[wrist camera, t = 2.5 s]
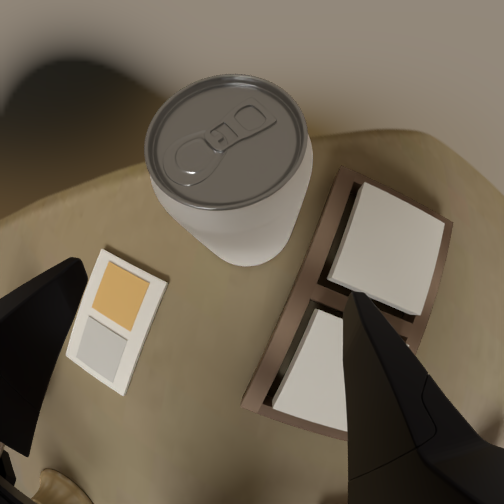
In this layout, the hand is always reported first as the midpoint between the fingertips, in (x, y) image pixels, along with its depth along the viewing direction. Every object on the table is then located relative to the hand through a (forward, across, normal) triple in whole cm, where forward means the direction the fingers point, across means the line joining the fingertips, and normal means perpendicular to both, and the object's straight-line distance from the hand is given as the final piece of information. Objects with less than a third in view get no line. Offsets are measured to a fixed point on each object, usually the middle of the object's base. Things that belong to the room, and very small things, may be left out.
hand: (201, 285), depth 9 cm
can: (+12, 0, +5) cm, 13 cm away
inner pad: (+3, -7, +10) cm, 13 cm away
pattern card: (+5, +10, +11) cm, 16 cm away
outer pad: (+9, -10, +4) cm, 14 cm away
